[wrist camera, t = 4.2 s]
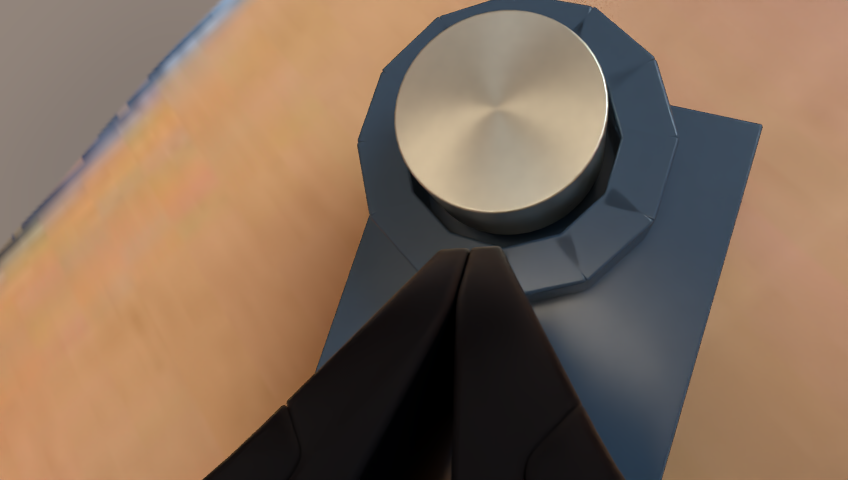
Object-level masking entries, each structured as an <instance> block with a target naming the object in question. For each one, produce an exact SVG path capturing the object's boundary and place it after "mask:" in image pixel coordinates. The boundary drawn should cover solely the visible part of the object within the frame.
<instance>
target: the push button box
mask: <svg viewBox="0 0 848 480" xmlns="http://www.w3.org/2000/svg"><path fill="white" fill-rule="evenodd" d="M499 10H520V11H528V12H533V13H537V14H541V15H544V16H546V17H549V18H551V19H554V20H556V21H558V22H559V23H561V24H563V25H565V26H567V27H568V28H569V29H570V30H572V31H573V32H574V33H576V34H577V35H578V36H579V37H580V38H581V39H582V40H583V41H584V42H585V43H586V44H587V45H588V47H589V48H590V49H591V51H592V52H593V53H594V55H595V57H596V58H597V60H598V62H599V64H600V66H601V68H602V71H603V74H604V77H605V80H606V85H607V90H608V102H609V109H608V120H607V129H606V138H605V148H604V156H603V160H602V165H601V168H600V171H599V173H598V176H597V178H596V180H595V182H594V184H593V186H592V188H591V189H590V191H589V192H588V193H587V195H586V196H585V198H584V199H583V200H582V201H581V202H580V203H579V204H578V205H577V206H576V207H575V208H574V209H573V210H572V211H571V212H569V213H568V214H567V215H566V216H564V217H563V218H561V219H560V220H558V221H556V222H555V223H553V224H551V225H548V226H546V227H544V228H542V229H538V230H535V231H532V232H528V233H522V234H511V235H502V234H492V233H487V232H483V231H479V230H477V229H474V228H471V227H469V226H467V225H465V224H463V223H461V222H459V221H458V220H457V219H455V218H454V217H452V216H451V215H450V214H449V213H448V212H447V211H446V210H444V209H443V208H442V207H441V206H440V205H439V204H438V202H437V201H436V200H435V199H434V198H433V197H432V196H431V195H430V194H429V193H428V192H427V191H426V190H425V189H424V188H423V187H422V186H421V185H420V184H419V182H418V181H417V180H416V179H415V177H414V176H413V175H412V174H411V172H410V171H409V169H408V167H407V166H406V164H405V162H404V160H403V158H402V155H401V153H400V151H399V147H398V143H397V140H396V134H395V125H394V122H395V106H396V99H397V96H398V92H399V89H400V85H401V83H402V81H403V78H404V76H405V74H406V72H407V70H408V68H409V67H410V65H411V63H412V62H413V60H414V59H415V58H416V56H417V55H418V54H419V52H420V51H421V50H422V49H423V48H424V47H425V46H426V45H427V44H428V43H429V42H430V41H431V40H432V39H433V38H435V37H436V36H437V35H438V34H439V33H441V32H442V31H444V30H445V29H447V28H448V27H450V26H452V25H454V24H455V23H457V22H459V21H461V20H464V19H466V18H469V17H472V16H474V15H478V14H482V13H486V12H491V11H499ZM761 131H762V125H761V124H757V123H752V122H747V121H743V120H738V119H733V118H728V117H724V116H719V115H714V114H710V113H705V112H700V111H695V110H691V109H686V108H681V107H676V106H672V105H670V104H669V100H668V97H667V94H666V90H665V87H664V84H663V80H662V77H661V74H660V70H659V67H658V64H657V61H656V60H655V58H654V56H652V55H651V54H650V53H649V52H648V51H646V50H645V49H644V48H643V47H642V46H641V45H639V44H638V43H637V42H636V41H635V40H633V39H632V38H631V37H630V36H629V35H628V34H626V33H625V32H624V31H623V30H622V29H620V28H619V27H618V26H617V25H616V24H614V23H613V22H612V21H611V20H610V19H609V18H607V17H606V16H605V15H604V14H603V13H601V12H600V11H599V10H598V9H597V8H595V7H594V8H592V7H591V6H587V5H581V4H575V3H570V2H564V1H558V0H490V1H487V2H484V3H481V4H477V5H474V6H471V7H468V8H465V9H462V10H458V11H455V12H452V13H449V14H446V15H442V16H441V17H440V18H439V17H437V18H436V19H435V20H434V21H433V22H432V23H431V24H430V25H429V26H428V27H427V28H426V29H425V30H423V31H422V32H421V33H420V34H419V35H418V36H417V37H416V38H415V39H414V40H413V41H412V42H411V43H410V44H409V45H408V46H407V47H406V48H405V49H404V50H402V51H401V52H400V53H399V54H398V55H397V56H396V57H395V58H394V59H393V60H392V61H391V62H390V63H389V64H388V65H387V66H386V67H385V68H384V69H383V72H382V73H381V75H380V78H379V81H378V84H377V87H376V89H375V92H374V95H373V98H372V101H371V104H370V107H369V109H368V112H367V115H366V118H365V121H364V124H363V126H362V129H361V132H360V135H359V138H358V144H357V147H358V152H359V158H360V164H361V170H362V175H363V181H364V187H365V193H366V198H367V204H368V210H369V214H370V215H369V218H368V221H367V224H366V227H365V230H364V232H363V235H362V238H361V241H360V244H359V247H358V250H357V253H356V256H355V259H354V261H353V264H352V267H351V270H350V273H349V276H348V279H347V282H346V285H345V288H344V290H343V293H342V296H341V299H340V302H339V305H338V308H337V311H336V314H335V317H334V319H333V322H332V325H331V328H330V331H329V334H328V337H327V340H326V343H325V346H324V348H323V351H322V354H321V357H320V360H319V363H318V366H317V369H316V372H317V371H318V370H319V369H320V368H321V367H322V366H323V365H324V364H325V363H326V362H327V361H328V360H329V359H330V358H331V357H332V356H333V355H334V354H335V353H336V352H337V351H338V350H339V349H340V348H341V347H342V346H343V345H344V344H345V343H346V342H347V341H348V340H349V339H350V338H351V337H352V336H353V335H354V334H355V333H356V332H357V331H358V330H359V329H360V328H361V327H362V326H363V325H364V324H365V323H366V322H367V321H368V320H369V319H370V318H371V317H372V316H373V315H374V314H375V313H376V312H377V311H378V310H379V309H380V308H381V307H382V306H383V305H384V304H385V303H386V302H387V301H388V300H389V299H390V298H391V297H392V296H393V295H394V294H396V293H397V292H398V291H399V290H400V289H401V288H402V287H403V286H404V285H405V284H406V283H407V282H408V281H409V280H410V279H411V278H412V277H413V276H414V275H415V274H416V273H417V272H418V271H419V270H420V269H421V268H422V267H423V266H424V265H425V264H426V263H427V262H428V261H429V260H430V259H431V258H432V257H433V256H434V255H435V254H436V253H437V252H438V251H440V250H442V249H454V248H467V249H469V251H471V249H472V248H475V247H487V246H499V247H501V249H502V250H503V252H504V254H505V256H506V258H507V259H508V261H509V263H510V265H511V267H512V269H513V271H514V273H515V275H516V277H517V279H518V281H519V283H520V285H521V287H522V288H523V290H524V292H525V294H526V296H527V298H528V300H529V302H530V304H531V306H532V308H533V310H534V312H535V314H536V316H537V317H538V319H539V321H540V323H541V325H542V327H543V329H544V331H545V333H546V335H547V337H548V339H549V341H550V343H551V345H552V346H553V348H554V350H555V352H556V354H557V356H558V358H559V360H560V362H561V364H562V366H563V368H564V370H565V372H566V374H567V375H568V377H569V379H570V381H571V383H572V385H573V387H574V389H575V391H576V393H577V395H578V397H579V399H580V401H581V403H582V406H583V407H584V408H585V409H586V411H587V413H588V415H589V417H590V419H591V421H592V423H593V425H594V427H595V429H596V431H597V432H598V434H599V436H600V438H601V439H602V441H603V443H604V445H605V446H606V448H607V450H608V452H609V453H610V455H611V457H612V459H613V460H614V462H615V464H616V466H617V467H618V469H619V470H620V472H621V473H622V475H623V476H624V478H625V479H626V480H662V477H663V473H664V470H665V466H666V463H667V459H668V456H669V452H670V449H671V445H672V442H673V438H674V435H675V431H676V428H677V424H678V421H679V417H680V414H681V411H682V407H683V404H684V400H685V397H686V393H687V390H688V386H689V383H690V379H691V376H692V372H693V369H694V365H695V362H696V358H697V355H698V351H699V348H700V344H701V341H702V337H703V334H704V330H705V327H706V323H707V320H708V316H709V313H710V309H711V306H712V302H713V299H714V295H715V292H716V288H717V285H718V281H719V278H720V274H721V271H722V267H723V264H724V260H725V257H726V253H727V250H728V246H729V243H730V239H731V236H732V232H733V229H734V225H735V222H736V218H737V215H738V211H739V208H740V204H741V201H742V197H743V194H744V190H745V187H746V183H747V180H748V176H749V173H750V169H751V166H752V162H753V159H754V155H755V152H756V148H757V145H758V141H759V138H760V134H761ZM316 372H315V373H316Z"/></svg>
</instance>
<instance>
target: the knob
mask: <svg viewBox="0 0 848 480" xmlns="http://www.w3.org/2000/svg"><path fill="white" fill-rule="evenodd" d="M608 109H609V102H608V90H607V85H606V80H605V77H604V74H603V71H602V68H601V66H600V64H599V62H598V60H597V58H596V57H595V55H594V53H593V52H592V51H591V49H590V48H589V47H588V45H587V44H586V43H585V42H584V41H583V40H582V39H581V38H580V37H579V36H578V35H577V34H576V33H574V32H573V31H572V30H570V29H569V28H568V27H567V26H565V25H563V24H561V23H559V22H558V21H556V20H554V19H551V18H549V17H546V16H544V15H541V14H537V13H533V12H528V11H520V10H499V11H491V12H486V13H482V14H478V15H474V16H472V17H469V18H466V19H464V20H461V21H459V22H457V23H455V24H454V25H452V26H450V27H448V28H447V29H445V30H444V31H442V32H441V33H439V34H438V35H437V36H436V37H435V38H433V39H432V40H431V41H430V42H429V43H428V44H427V45H426V46H425V47H424V48H423V49H422V50H421V51H420V52H419V54H418V55H417V56H416V58H415V59H414V60H413V62H412V63H411V65H410V67H409V68H408V70H407V72H406V74H405V76H404V78H403V81H402V83H401V85H400V89H399V92H398V96H397V99H396V106H395V122H394V125H395V134H396V140H397V143H398V147H399V151H400V153H401V155H402V158H403V160H404V162H405V164H406V166H407V167H408V169H409V171H410V172H411V174H412V175H413V176H414V177H415V179H416V180H417V181H418V182H419V184H420V185H421V186H422V187H423V188H424V189H425V190H426V191H427V192H428V193H429V194H430V195H431V196H432V197H433V198H434V199H435V200H436V201H437V202H438V204H439V205H440V206H441V207H442V208H443V209H444V210H446V211H447V212H448V213H449V214H450V215H451V216H452V217H454V218H455V219H457V220H458V221H459V222H461V223H463V224H465V225H467V226H469V227H471V228H474V229H477V230H479V231H483V232H487V233H492V234H502V235H511V234H522V233H528V232H532V231H535V230H538V229H542V228H544V227H546V226H548V225H551V224H553V223H555V222H556V221H558V220H560V219H561V218H563V217H564V216H566V215H567V214H568V213H569V212H571V211H572V210H573V209H574V208H575V207H576V206H577V205H578V204H579V203H580V202H581V201H582V200H583V199H584V198H585V196H586V195H587V193H588V192H589V191H590V189H591V188H592V186H593V184H594V182H595V180H596V178H597V176H598V173H599V171H600V168H601V165H602V160H603V156H604V148H605V138H606V129H607V120H608Z"/></svg>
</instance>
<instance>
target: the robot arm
mask: <svg viewBox="0 0 848 480" xmlns="http://www.w3.org/2000/svg"><path fill="white" fill-rule="evenodd" d="M203 480H626V479H625V478H624V476H623V475H622V473H621V472H620V470H619V469H618V467H617V466H616V464H615V462H614V460H613V459H612V457H611V455H610V453H609V452H608V450H607V448H606V446H605V445H604V443H603V441H602V439H601V438H600V436H599V434H598V432H597V431H596V429H595V427H594V425H593V423H592V421H591V419H590V417H589V415H588V413H587V411H586V409H585V408H584V407H583V406H582V403H581V401H580V399H579V397H578V395H577V393H576V391H575V389H574V387H573V385H572V383H571V381H570V379H569V377H568V375H567V374H566V372H565V370H564V368H563V366H562V364H561V362H560V360H559V358H558V356H557V354H556V352H555V350H554V348H553V346H552V345H551V343H550V341H549V339H548V337H547V335H546V333H545V331H544V329H543V327H542V325H541V323H540V321H539V319H538V317H537V316H536V314H535V312H534V310H533V308H532V306H531V304H530V302H529V300H528V298H527V296H526V294H525V292H524V290H523V288H522V287H521V285H520V283H519V281H518V279H517V277H516V275H515V273H514V271H513V269H512V267H511V265H510V263H509V261H508V259H507V258H506V256H505V254H504V252H503V250H502V249H501V247H499V246H487V247H475V248H472V249H471V251H469V249H467V248H454V249H442V250H440V251H438V252H437V253H436V254H435V255H434V256H433V257H432V258H431V259H430V260H429V261H428V262H427V263H426V264H425V265H424V266H423V267H422V268H421V269H420V270H419V271H418V272H417V273H416V274H415V275H414V276H413V277H412V278H411V279H410V280H409V281H408V282H407V283H406V284H405V285H404V286H403V287H402V288H401V289H400V290H399V291H398V292H397V293H396V294H394V295H393V296H392V297H391V298H390V299H389V300H388V301H387V302H386V303H385V304H384V305H383V306H382V307H381V308H380V309H379V310H378V311H377V312H376V313H375V314H374V315H373V316H372V317H371V318H370V319H369V320H368V321H367V322H366V323H365V324H364V325H363V326H362V327H361V328H360V329H359V330H358V331H357V332H356V333H355V334H354V335H353V336H352V337H351V338H350V339H349V340H348V341H347V342H346V343H345V344H344V345H343V346H342V347H341V348H340V349H339V350H338V351H337V352H336V353H335V354H334V355H333V356H332V357H331V358H330V359H329V360H328V361H327V362H326V363H325V364H324V365H323V366H322V367H321V368H320V369H319V370H318V371H317V372H316V373H315V374H314V375H313V376H312V377H311V378H310V379H309V380H308V381H307V382H306V383H305V384H304V385H303V386H302V387H301V388H300V389H299V390H298V391H297V392H296V393H295V394H294V395H293V396H292V397H290V398H289V399H288V401H287V406H285V405H283V406H281V407H280V408H279V409H278V410H277V411H276V412H275V413H274V414H273V415H272V416H271V417H270V418H269V419H268V420H267V421H266V422H265V423H264V424H263V425H262V426H261V427H260V428H259V429H258V430H257V431H256V432H255V433H253V434H252V435H251V436H250V437H249V438H248V439H247V440H246V441H245V442H244V443H243V444H242V445H241V446H240V447H239V448H238V449H237V450H235V451H234V452H233V453H232V454H231V455H230V456H229V457H228V458H227V459H226V460H225V461H223V462H222V463H221V464H220V465H219V466H218V467H216V468H215V469H214V470H213V471H212V472H211V473H210V474H208V475H207V476H206V477H205V478H204V479H203Z"/></svg>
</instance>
